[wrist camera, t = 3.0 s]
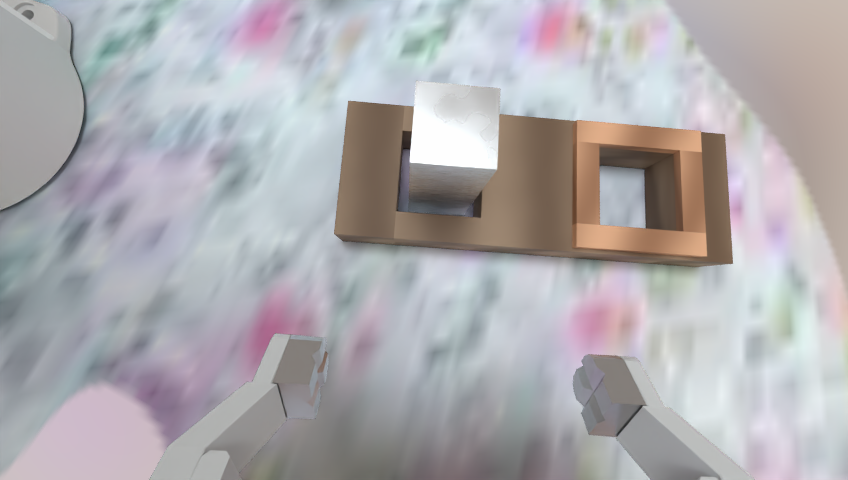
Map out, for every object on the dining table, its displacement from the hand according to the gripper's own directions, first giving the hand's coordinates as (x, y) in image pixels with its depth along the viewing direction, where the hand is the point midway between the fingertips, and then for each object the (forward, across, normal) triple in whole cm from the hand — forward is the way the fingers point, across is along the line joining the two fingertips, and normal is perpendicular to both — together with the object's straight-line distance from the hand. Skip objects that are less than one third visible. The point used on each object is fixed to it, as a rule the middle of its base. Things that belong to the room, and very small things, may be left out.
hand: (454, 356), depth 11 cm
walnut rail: (+17, -6, +3) cm, 18 cm away
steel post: (+17, 0, +3) cm, 17 cm away
